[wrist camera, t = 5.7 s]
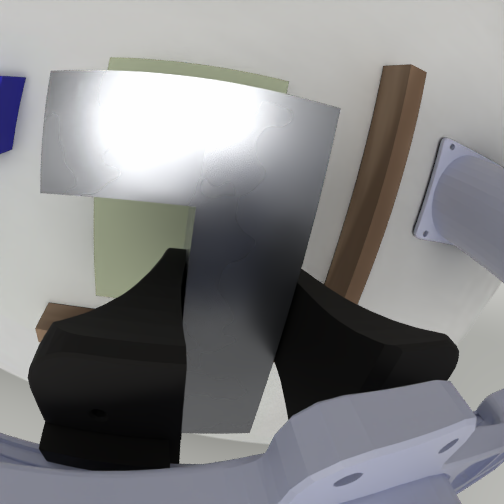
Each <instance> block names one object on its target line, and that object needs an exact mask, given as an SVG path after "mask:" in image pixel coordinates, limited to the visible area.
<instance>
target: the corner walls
mask: <svg viewBox="0 0 504 504" xmlns="http://www.w3.org/2000/svg"><path fill="white" fill-rule="evenodd" d="M426 73H427V72H425V71H423V70H421V69H419V68H417V67H415V66H413V65H411V64H410V65H391V66H383V71H382V76H381V81H380V86H379V91H378V95H377V100H376V104H375V109H374V113H373V118H372V122H371V126H370V130H369V134H368V138H367V142H366V146H365V150H364V154H363V158H362V162H361V166H360V169H359V173H358V177H357V180H356V184H355V188H354V191H353V195H352V198H351V202H350V205H349V209H348V212H347V215H346V219H345V222H344V225H343V229H342V232H341V235H340V238H339V242H338V245H337V248H336V251H335V254H334V257H333V260H332V263H331V266H330V269H329V272H328V275H327V278H326V281H325V284H324V285H325V286H327V287H328V288H330V289H331V290H333V291H334V292H336V293H338V294H339V295H341V296H342V297H344V298H346V299H348V300H349V301H351V302H353V303H355V304H358V302H359V299H360V297H361V294H362V292H363V289H364V287H365V284H366V282H367V279H368V277H369V274H370V271H371V269H372V266H373V263H374V261H375V258H376V255H377V253H378V250H379V247H380V244H381V241H382V238H383V236H384V233H385V230H386V227H387V224H388V221H389V218H390V215H391V212H392V208H393V205H394V202H395V199H396V196H397V192H398V189H399V186H400V182H401V179H402V175H403V172H404V168H405V165H406V161H407V157H408V154H409V150H410V146H411V142H412V138H413V134H414V130H415V126H416V121H417V117H418V113H419V108H420V103H421V99H422V94H423V89H424V84H425V78H426ZM91 310H94V309H91V308H83V307H75V306H68V305H61V304H54V303H48V305H47V307H46V309H45V311H44V313H43V314H42V316H41V318H40V320H39V322H38V324H37V326H36V328H35V329H36V333H37V337H38V341H39V342H41V341H42V339H43V337H44V335H45V334H46V332H47V331H48V329H49V328H50V326H51V324H52V323H53V322H55V321H60V320H63V319H67V318H70V317H74V316H77V315H80V314H83V313H86V312H89V311H91ZM273 362H274V361H273Z"/></svg>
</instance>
